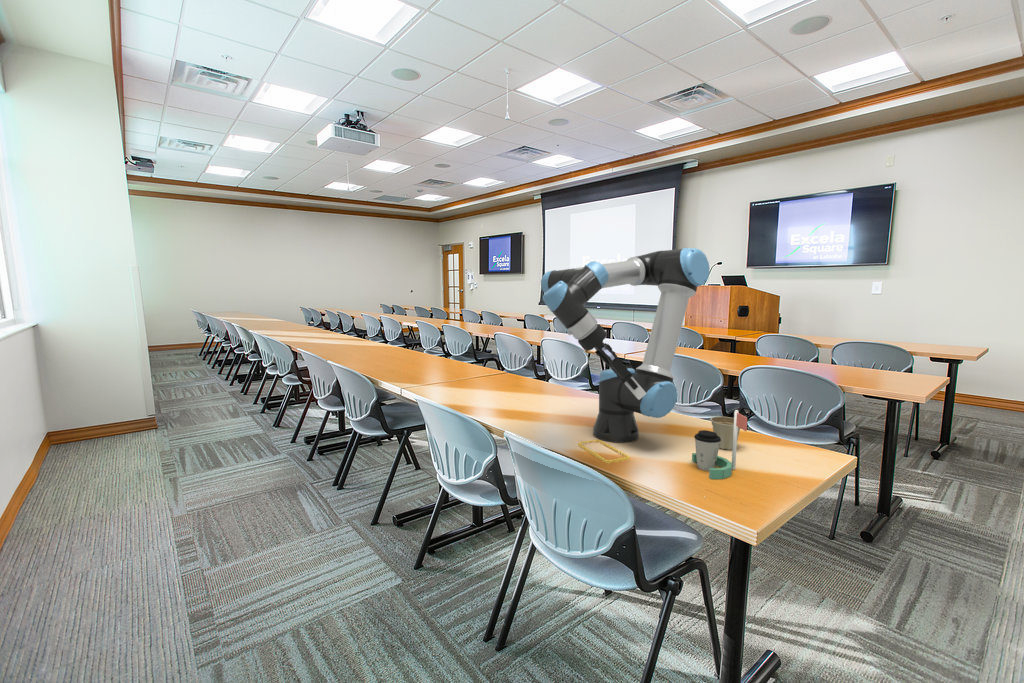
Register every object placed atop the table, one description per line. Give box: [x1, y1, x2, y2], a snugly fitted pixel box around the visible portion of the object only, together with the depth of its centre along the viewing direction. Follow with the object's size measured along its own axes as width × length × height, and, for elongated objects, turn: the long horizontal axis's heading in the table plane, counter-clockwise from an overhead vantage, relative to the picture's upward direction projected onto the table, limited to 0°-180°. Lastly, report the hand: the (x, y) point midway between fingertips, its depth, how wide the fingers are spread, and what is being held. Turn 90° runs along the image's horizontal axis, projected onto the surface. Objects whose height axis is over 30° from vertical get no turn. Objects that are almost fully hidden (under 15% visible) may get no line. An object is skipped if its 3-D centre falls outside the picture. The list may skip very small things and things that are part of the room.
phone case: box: [577, 439, 630, 464], centre depth 139 cm, size 8×17×1 cm, turn 22°
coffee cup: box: [693, 429, 721, 472], centre depth 126 cm, size 7×7×10 cm
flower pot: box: [709, 416, 742, 451], centre depth 143 cm, size 9×9×9 cm
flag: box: [731, 409, 748, 471], centre depth 122 cm, size 6×1×17 cm, turn 1°
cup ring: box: [691, 452, 733, 480], centre depth 125 cm, size 12×8×2 cm, turn 1°
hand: (642, 396), depth 125 cm, fingers closed
